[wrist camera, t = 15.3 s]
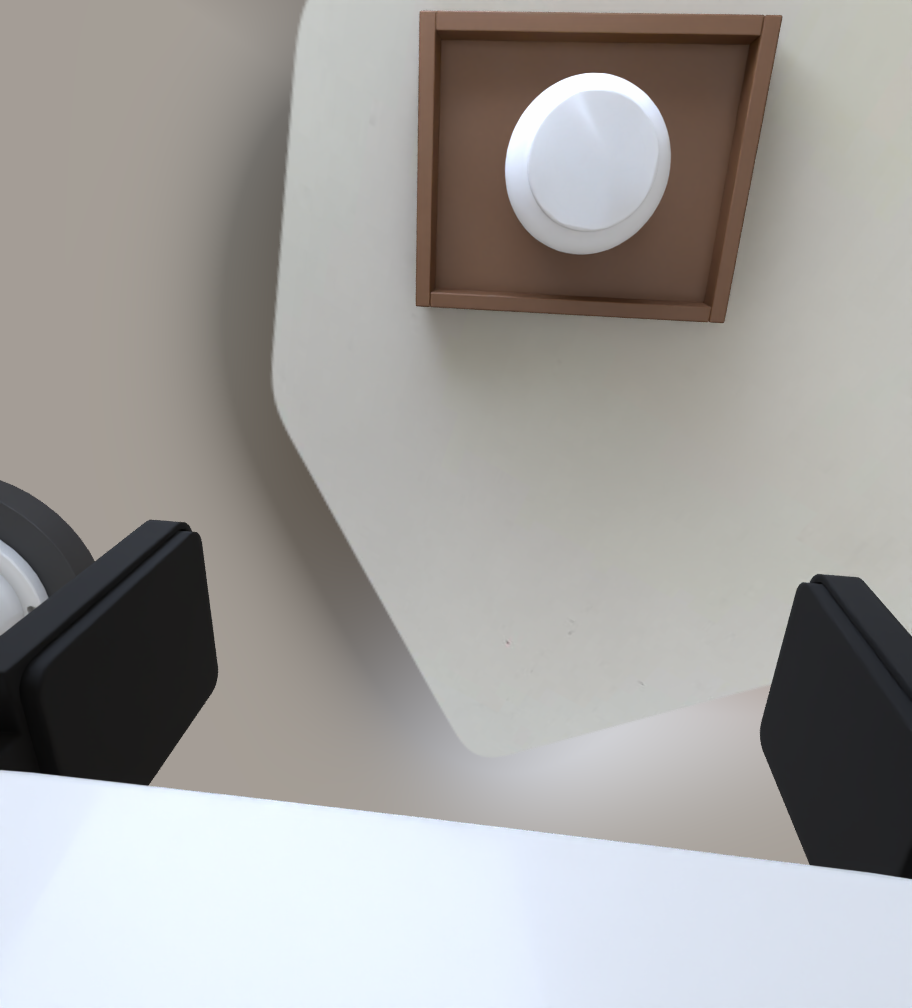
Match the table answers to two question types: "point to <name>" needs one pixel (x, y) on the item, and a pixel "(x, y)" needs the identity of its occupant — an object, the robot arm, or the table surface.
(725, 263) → the tray
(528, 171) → the supplement bottle
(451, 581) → the table surface
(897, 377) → the table surface
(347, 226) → the table surface
